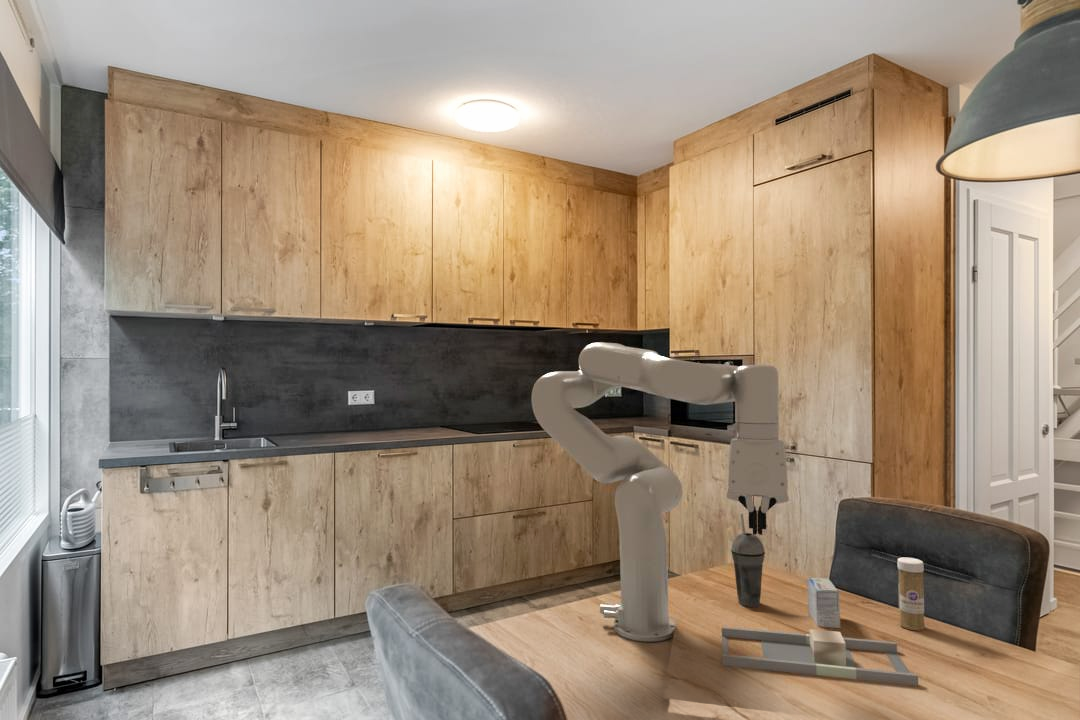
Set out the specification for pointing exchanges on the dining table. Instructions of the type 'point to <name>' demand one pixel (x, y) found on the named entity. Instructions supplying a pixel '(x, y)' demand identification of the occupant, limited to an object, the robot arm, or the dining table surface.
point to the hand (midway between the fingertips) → (757, 532)
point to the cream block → (827, 647)
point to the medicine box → (823, 602)
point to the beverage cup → (748, 567)
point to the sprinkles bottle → (911, 593)
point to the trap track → (796, 657)
